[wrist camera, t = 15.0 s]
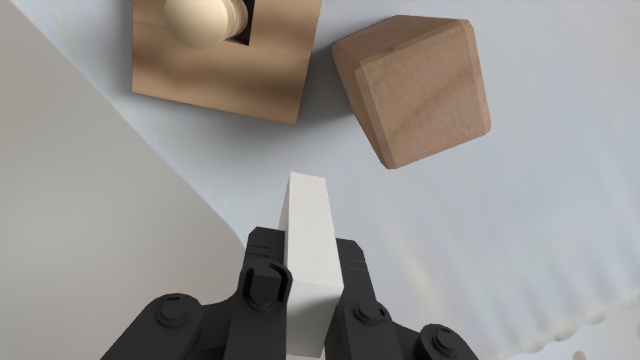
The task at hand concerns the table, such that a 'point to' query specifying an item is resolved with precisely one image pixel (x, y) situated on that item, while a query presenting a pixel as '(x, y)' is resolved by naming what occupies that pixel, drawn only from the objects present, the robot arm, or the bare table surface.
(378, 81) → the wooden block
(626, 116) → the table surface
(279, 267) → the robot arm
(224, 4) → the peg
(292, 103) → the board
